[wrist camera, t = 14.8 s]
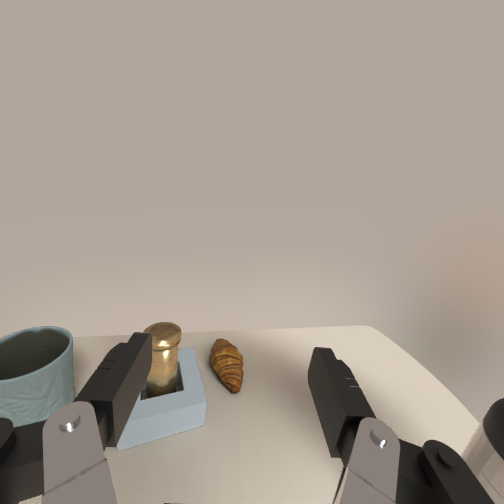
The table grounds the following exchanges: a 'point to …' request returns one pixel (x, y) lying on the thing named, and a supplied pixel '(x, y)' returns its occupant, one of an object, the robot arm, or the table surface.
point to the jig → (168, 407)
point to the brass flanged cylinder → (163, 359)
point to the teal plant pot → (35, 374)
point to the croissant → (227, 364)
